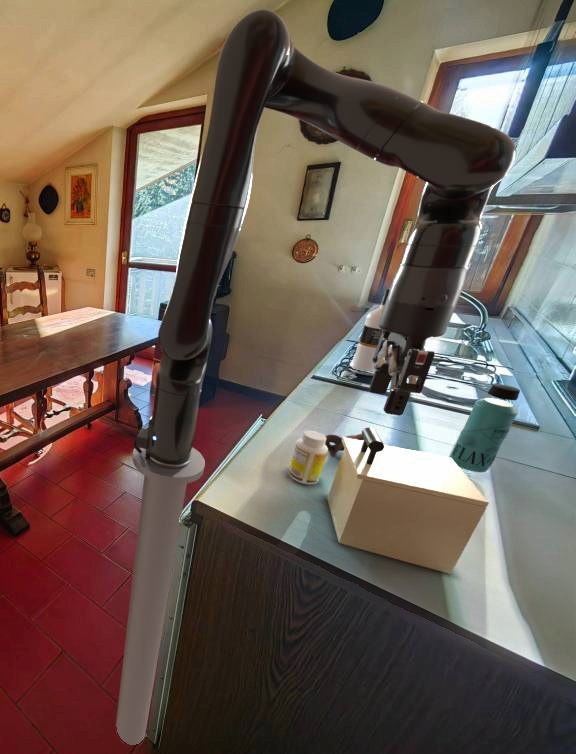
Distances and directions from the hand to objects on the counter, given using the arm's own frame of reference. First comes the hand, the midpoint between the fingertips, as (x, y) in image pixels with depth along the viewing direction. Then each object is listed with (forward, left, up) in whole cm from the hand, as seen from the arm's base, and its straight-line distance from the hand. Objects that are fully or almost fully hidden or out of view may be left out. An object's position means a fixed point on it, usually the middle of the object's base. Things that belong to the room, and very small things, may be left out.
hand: (384, 402), depth 61 cm
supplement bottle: (-5, +12, -24) cm, 27 cm away
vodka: (+22, +96, -24) cm, 101 cm away
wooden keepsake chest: (+6, 0, -24) cm, 24 cm away
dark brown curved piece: (+5, +23, -24) cm, 33 cm away
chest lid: (+5, 0, -11) cm, 12 cm away
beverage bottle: (+28, +31, -24) cm, 48 cm away
